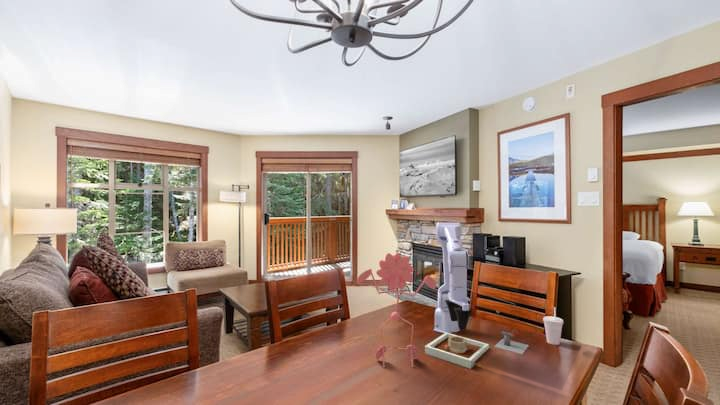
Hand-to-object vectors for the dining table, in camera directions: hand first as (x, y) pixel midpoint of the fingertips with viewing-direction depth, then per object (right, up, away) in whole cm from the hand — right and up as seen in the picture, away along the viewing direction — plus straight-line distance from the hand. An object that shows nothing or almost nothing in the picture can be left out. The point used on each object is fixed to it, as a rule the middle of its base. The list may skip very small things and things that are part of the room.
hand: (458, 324), depth 114 cm
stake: (+20, -9, +2) cm, 22 cm away
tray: (0, -9, 0) cm, 9 cm away
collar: (0, -9, 0) cm, 9 cm away
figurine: (-22, -10, -4) cm, 25 cm away
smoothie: (+36, -10, +5) cm, 38 cm away
